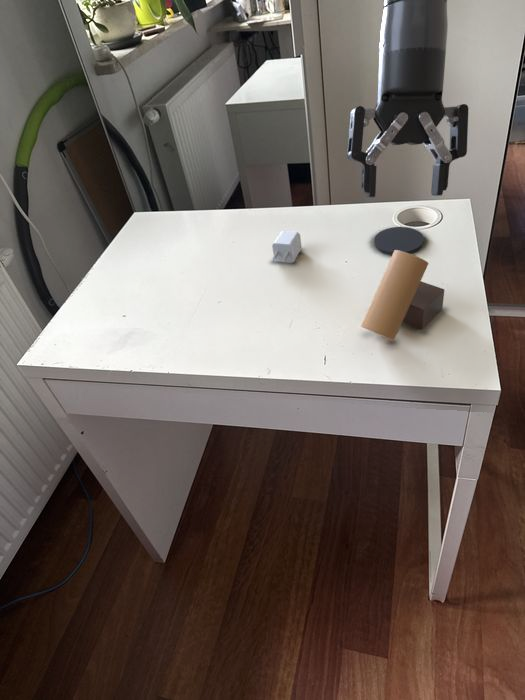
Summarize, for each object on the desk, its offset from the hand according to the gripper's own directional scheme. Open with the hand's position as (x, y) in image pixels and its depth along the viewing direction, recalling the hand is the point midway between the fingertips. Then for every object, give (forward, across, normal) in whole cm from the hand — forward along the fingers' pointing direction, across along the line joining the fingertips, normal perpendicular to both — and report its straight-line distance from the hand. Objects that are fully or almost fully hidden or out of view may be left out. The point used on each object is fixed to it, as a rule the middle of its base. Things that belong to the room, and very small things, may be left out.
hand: (403, 196), depth 66 cm
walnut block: (+18, +6, +11) cm, 22 cm away
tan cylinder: (+20, +2, +8) cm, 21 cm away
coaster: (+10, +9, +29) cm, 32 cm away
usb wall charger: (+12, -12, +31) cm, 35 cm away
